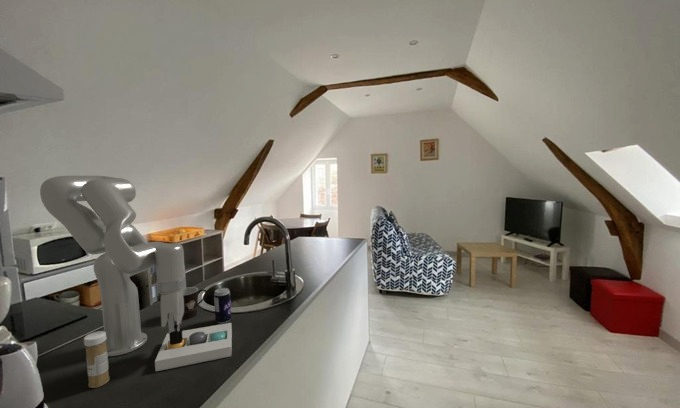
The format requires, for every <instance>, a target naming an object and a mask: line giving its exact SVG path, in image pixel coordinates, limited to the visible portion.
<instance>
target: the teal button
mask: <svg viewBox="0 0 680 408" xmlns="http://www.w3.org/2000/svg"><path fill="white" fill-rule="evenodd" d="M210 337H211V342H212V341H218V340H223V339H225V332H215V333H213V334H212V335H211V336H210Z"/></svg>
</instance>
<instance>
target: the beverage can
mask: <svg viewBox="0 0 680 408" xmlns="http://www.w3.org/2000/svg"><path fill="white" fill-rule="evenodd" d="M213 301H214V302H213V303H214V305H213V306H214V318H215V319H214V320H215V322H216V323H218V324H219V325H221V324H226V323H229V322H230V320H231V319H232V302H231V292H230V289H229V288H228V287H220V288H217V289H215V290H214V294H213Z"/></svg>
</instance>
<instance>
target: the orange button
mask: <svg viewBox="0 0 680 408" xmlns="http://www.w3.org/2000/svg"><path fill="white" fill-rule="evenodd" d="M180 347H185V346H184V339H183V340H182V342H181V343H178V344H172V345H171V344H170V342H169V343H168V350H169V349H175V348H180Z"/></svg>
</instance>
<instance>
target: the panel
mask: <svg viewBox="0 0 680 408" xmlns="http://www.w3.org/2000/svg"><path fill="white" fill-rule="evenodd" d="M232 328H233V327H232V322H227V323H223V324H216V325H210V326H204V327H198V328H192V329H186V330H185V329H184V330H182V337H183V339H184V346H185V347H180V348H175V349H169V350H168V343H169V342H170V336H169V332H167V333H166V335H165V337H164V339H163V341H162V344H161V347H160V349H159V351H158V353H157V356H156V358H155V360H154V369H155V372H159V371H161V372H162V371H164V370H170V369H175V368H180V367H185V366H191V365H195V364H199V363H203V362H204V363H205V362H209V361H215V360H219V359H224V358H229V357H232V350H233V349H232V346H233V345H232V344H233V343H232V342H233V341H232V340H233V337H232V335H233V329H232ZM196 332H204V333H205V343H202V344H196V345H191V346H190V338H189V337H190V335H191V334H193V333H196ZM215 332H225V339H223V340H218V341H212V342H211V337H210V336H211V335H212V334H213V333H215Z"/></svg>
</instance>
